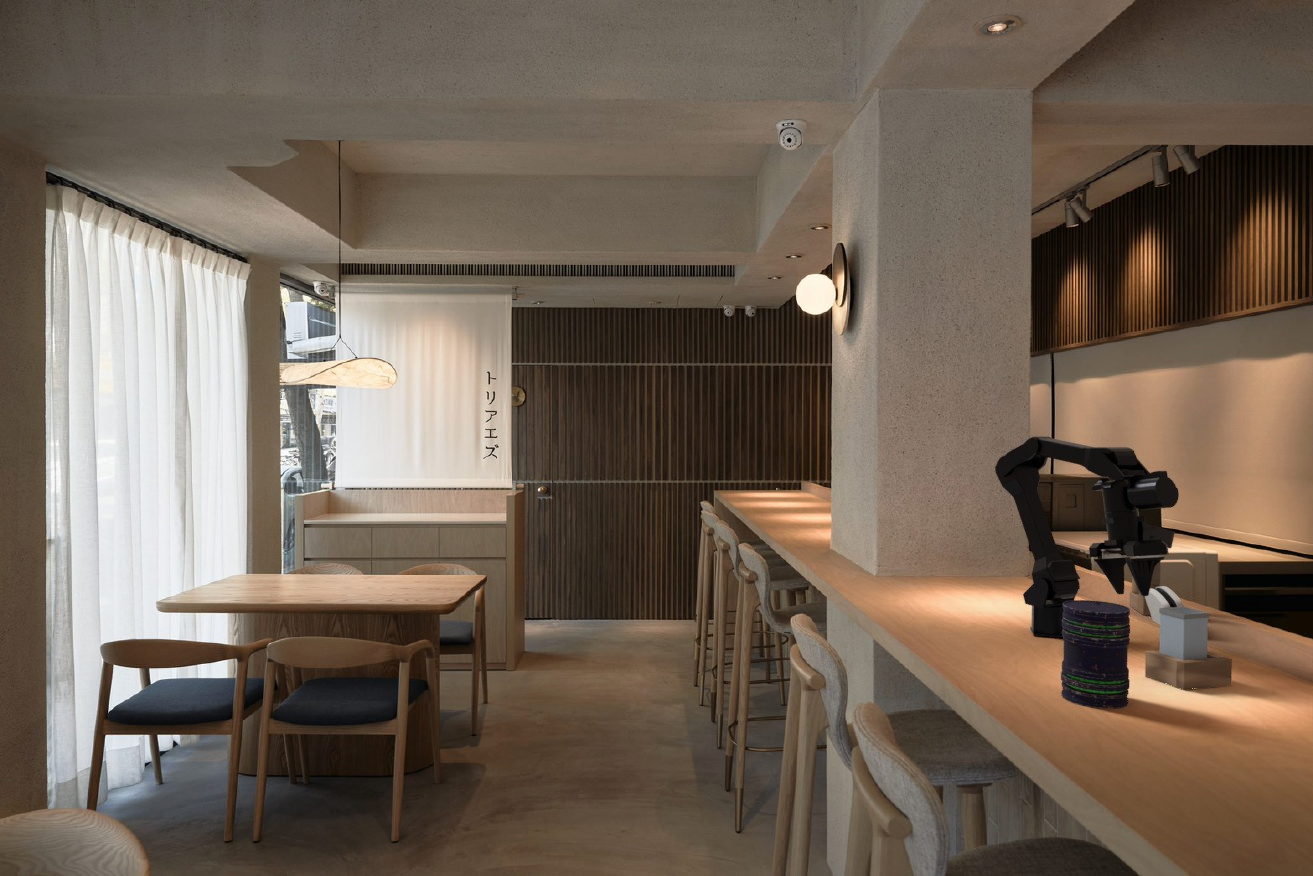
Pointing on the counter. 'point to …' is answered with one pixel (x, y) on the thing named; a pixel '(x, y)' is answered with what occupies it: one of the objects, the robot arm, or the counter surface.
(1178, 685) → the block
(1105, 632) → the storage jar
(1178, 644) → the rail post
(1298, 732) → the counter surface
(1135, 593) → the wooden block
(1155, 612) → the hinge
